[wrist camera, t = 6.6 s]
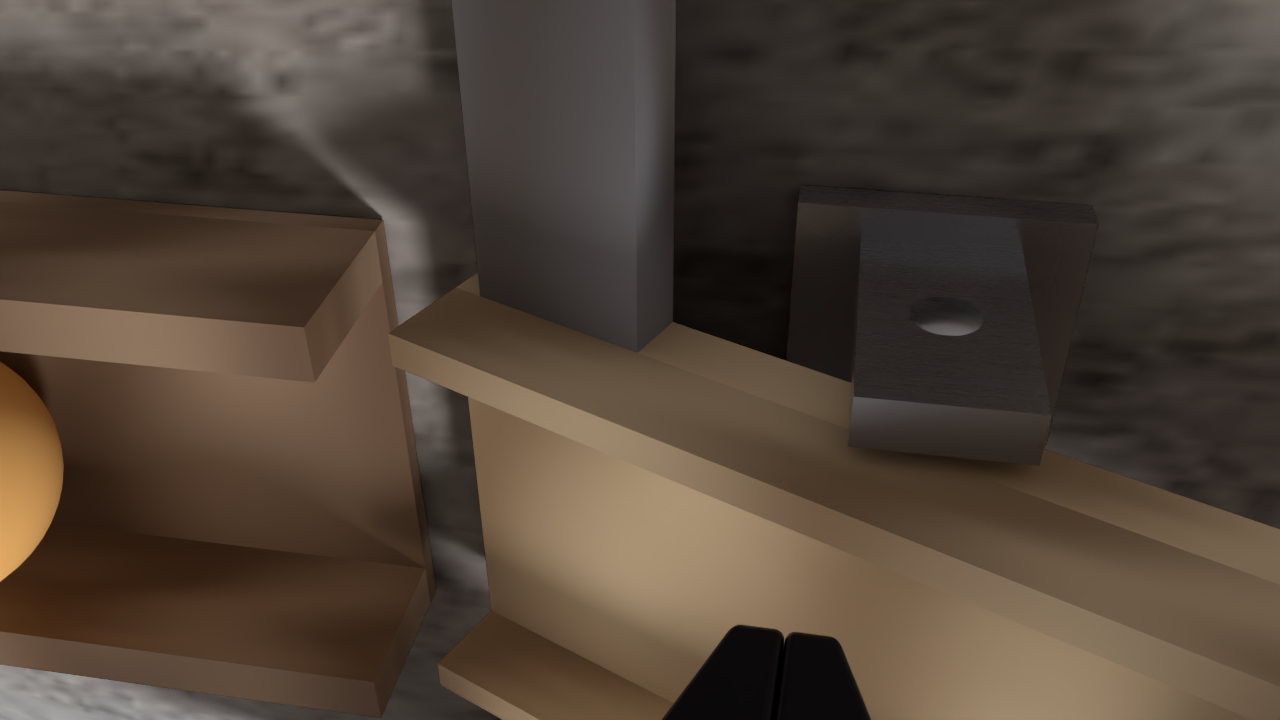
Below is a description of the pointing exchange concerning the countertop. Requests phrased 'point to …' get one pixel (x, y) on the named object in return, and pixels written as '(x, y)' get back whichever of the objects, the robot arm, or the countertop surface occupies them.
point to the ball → (25, 470)
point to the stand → (940, 315)
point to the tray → (215, 451)
